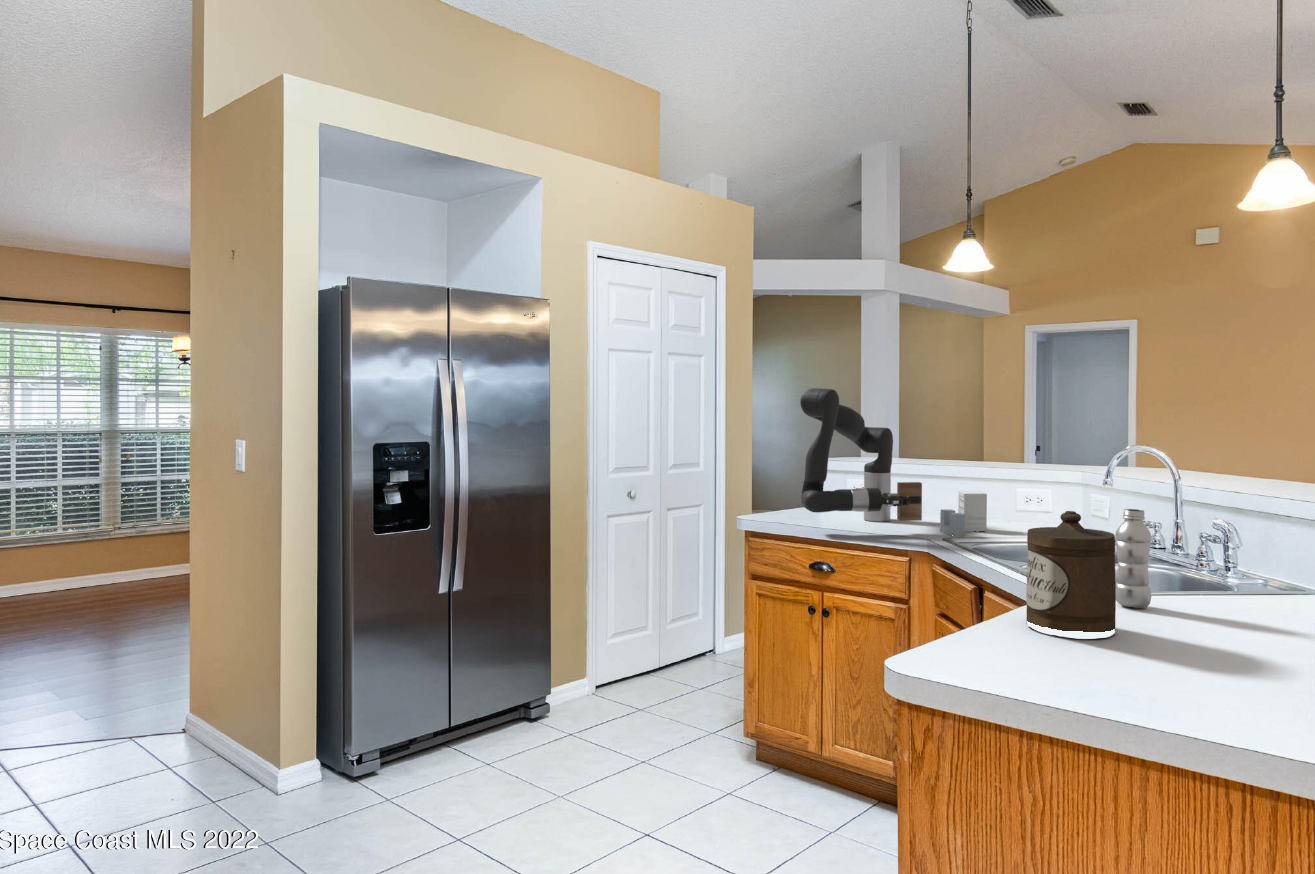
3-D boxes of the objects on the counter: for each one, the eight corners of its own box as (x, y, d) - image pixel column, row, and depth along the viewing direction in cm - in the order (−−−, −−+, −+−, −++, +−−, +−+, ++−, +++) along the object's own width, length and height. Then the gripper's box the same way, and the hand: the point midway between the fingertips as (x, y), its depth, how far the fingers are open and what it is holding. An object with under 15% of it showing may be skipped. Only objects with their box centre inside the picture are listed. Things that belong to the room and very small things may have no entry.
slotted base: (940, 530, 272) (940, 509, 271) (951, 530, 272) (951, 509, 271) (953, 536, 260) (953, 514, 259) (964, 536, 260) (964, 514, 259)
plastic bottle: (1138, 612, 165) (1140, 513, 164) (1106, 605, 171) (1108, 509, 170) (1158, 608, 168) (1160, 510, 167) (1126, 601, 174) (1128, 507, 173)
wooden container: (1013, 618, 161) (1014, 506, 160) (1090, 619, 161) (1092, 506, 160) (1046, 640, 146) (1048, 516, 146) (1131, 640, 146) (1134, 517, 145)
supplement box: (980, 528, 276) (980, 490, 275) (986, 532, 269) (987, 493, 268) (957, 528, 277) (958, 490, 276) (963, 531, 269) (963, 493, 269)
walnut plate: (897, 519, 267) (897, 482, 267) (918, 518, 267) (919, 482, 267) (899, 520, 264) (899, 483, 264) (921, 520, 264) (921, 483, 264)
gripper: (870, 490, 258) (925, 490, 258) (859, 485, 272) (912, 484, 272) (870, 514, 259) (925, 514, 259) (859, 508, 273) (911, 507, 273)
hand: (918, 499), depth 266 cm, fingers closed on walnut plate, 3 cm apart
